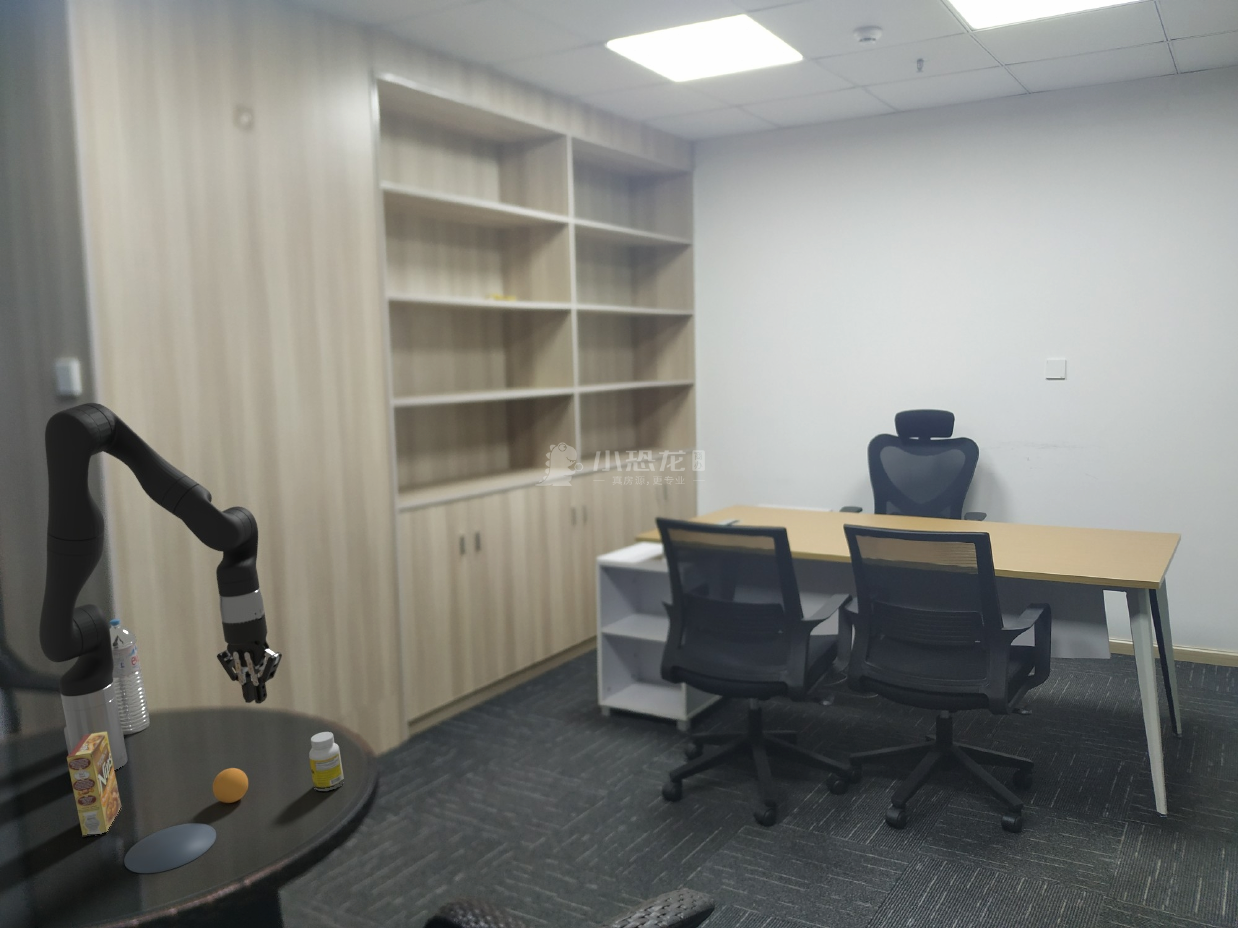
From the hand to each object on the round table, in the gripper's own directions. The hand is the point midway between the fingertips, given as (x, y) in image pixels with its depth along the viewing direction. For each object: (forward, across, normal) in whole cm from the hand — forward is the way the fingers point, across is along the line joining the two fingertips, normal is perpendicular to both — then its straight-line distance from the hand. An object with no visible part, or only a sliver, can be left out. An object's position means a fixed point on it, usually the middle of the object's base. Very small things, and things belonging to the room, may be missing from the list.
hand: (256, 701), depth 175 cm
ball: (+12, 0, -10) cm, 15 cm away
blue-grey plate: (+15, 0, -24) cm, 29 cm away
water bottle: (+15, -45, +12) cm, 49 cm away
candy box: (+15, -19, -20) cm, 32 cm away
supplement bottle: (+15, +15, -2) cm, 21 cm away
